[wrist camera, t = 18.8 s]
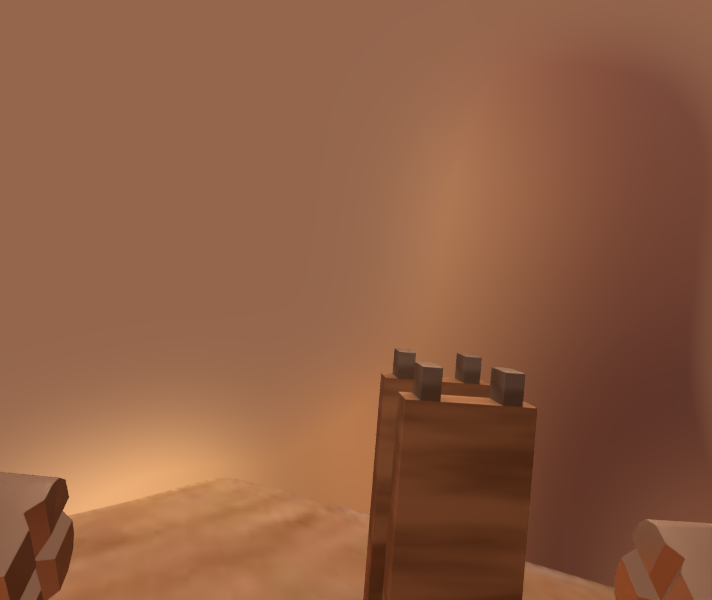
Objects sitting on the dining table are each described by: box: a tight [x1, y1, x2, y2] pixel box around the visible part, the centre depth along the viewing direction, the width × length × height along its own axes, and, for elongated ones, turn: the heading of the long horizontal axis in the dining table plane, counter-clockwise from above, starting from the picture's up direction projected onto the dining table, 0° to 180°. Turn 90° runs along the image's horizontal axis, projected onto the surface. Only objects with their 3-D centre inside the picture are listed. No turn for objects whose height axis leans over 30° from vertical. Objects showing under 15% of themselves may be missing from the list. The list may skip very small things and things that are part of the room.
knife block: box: [363, 349, 537, 600], centre depth 46 cm, size 13×10×27 cm
